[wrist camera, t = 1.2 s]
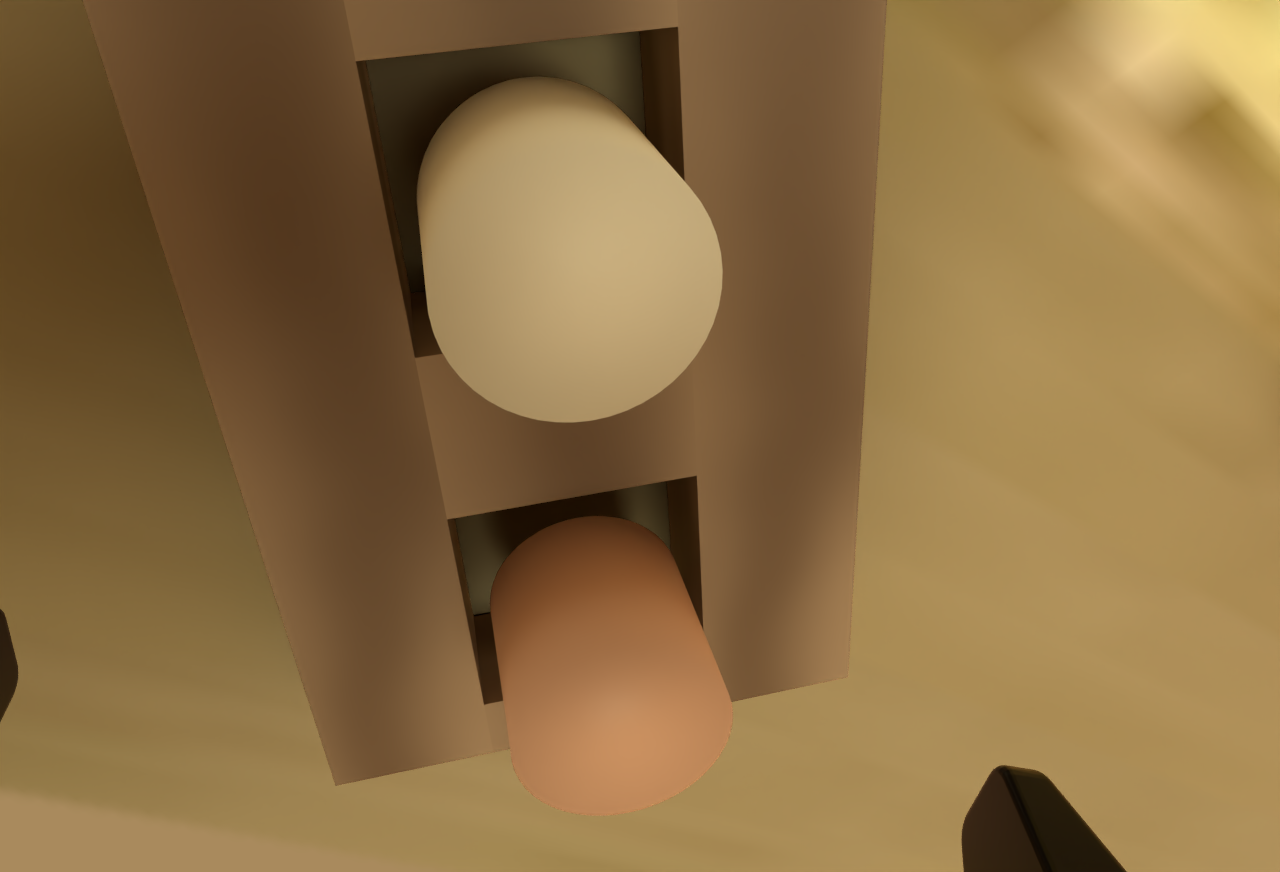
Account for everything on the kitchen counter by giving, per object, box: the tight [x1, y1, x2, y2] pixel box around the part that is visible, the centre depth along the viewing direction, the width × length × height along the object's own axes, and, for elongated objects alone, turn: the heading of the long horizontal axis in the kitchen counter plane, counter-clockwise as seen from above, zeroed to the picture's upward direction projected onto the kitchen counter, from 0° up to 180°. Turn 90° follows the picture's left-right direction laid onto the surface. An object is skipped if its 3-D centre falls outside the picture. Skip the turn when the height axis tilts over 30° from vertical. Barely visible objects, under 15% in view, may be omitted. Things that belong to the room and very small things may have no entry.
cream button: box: [417, 76, 723, 422], centre depth 15 cm, size 4×4×4 cm
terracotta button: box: [490, 516, 733, 815], centre depth 20 cm, size 4×4×4 cm
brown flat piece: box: [82, 0, 887, 786], centre depth 18 cm, size 12×25×3 cm, turn 4°
